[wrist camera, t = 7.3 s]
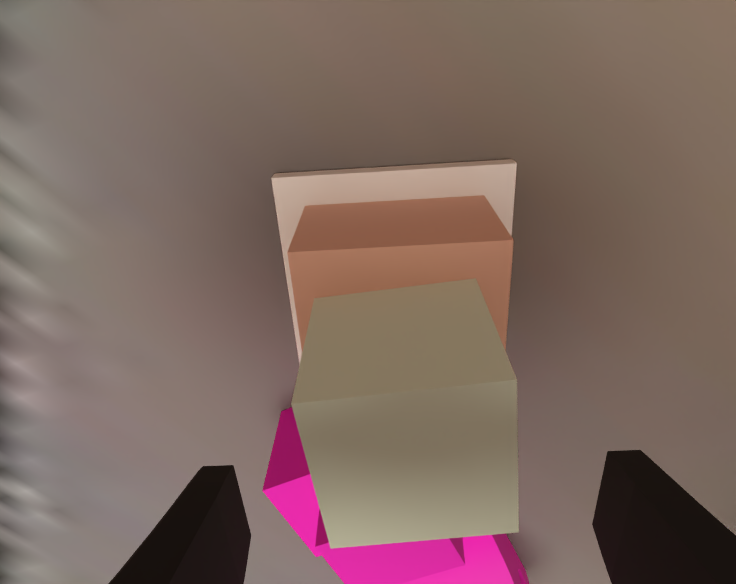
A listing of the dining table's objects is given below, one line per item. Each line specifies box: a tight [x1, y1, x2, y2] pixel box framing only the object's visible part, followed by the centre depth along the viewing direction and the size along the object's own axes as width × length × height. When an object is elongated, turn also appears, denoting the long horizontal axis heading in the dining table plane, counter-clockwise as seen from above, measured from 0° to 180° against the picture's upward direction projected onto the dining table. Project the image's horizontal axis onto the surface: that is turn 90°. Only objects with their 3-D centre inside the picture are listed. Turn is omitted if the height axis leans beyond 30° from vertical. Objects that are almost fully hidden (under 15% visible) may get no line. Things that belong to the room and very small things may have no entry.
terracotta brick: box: [287, 195, 514, 352], centre depth 17 cm, size 6×6×4 cm
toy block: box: [263, 407, 529, 584], centre depth 21 cm, size 15×6×8 cm, turn 26°
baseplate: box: [271, 159, 517, 364], centre depth 19 cm, size 8×8×1 cm
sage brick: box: [291, 278, 519, 549], centre depth 13 cm, size 4×4×4 cm
